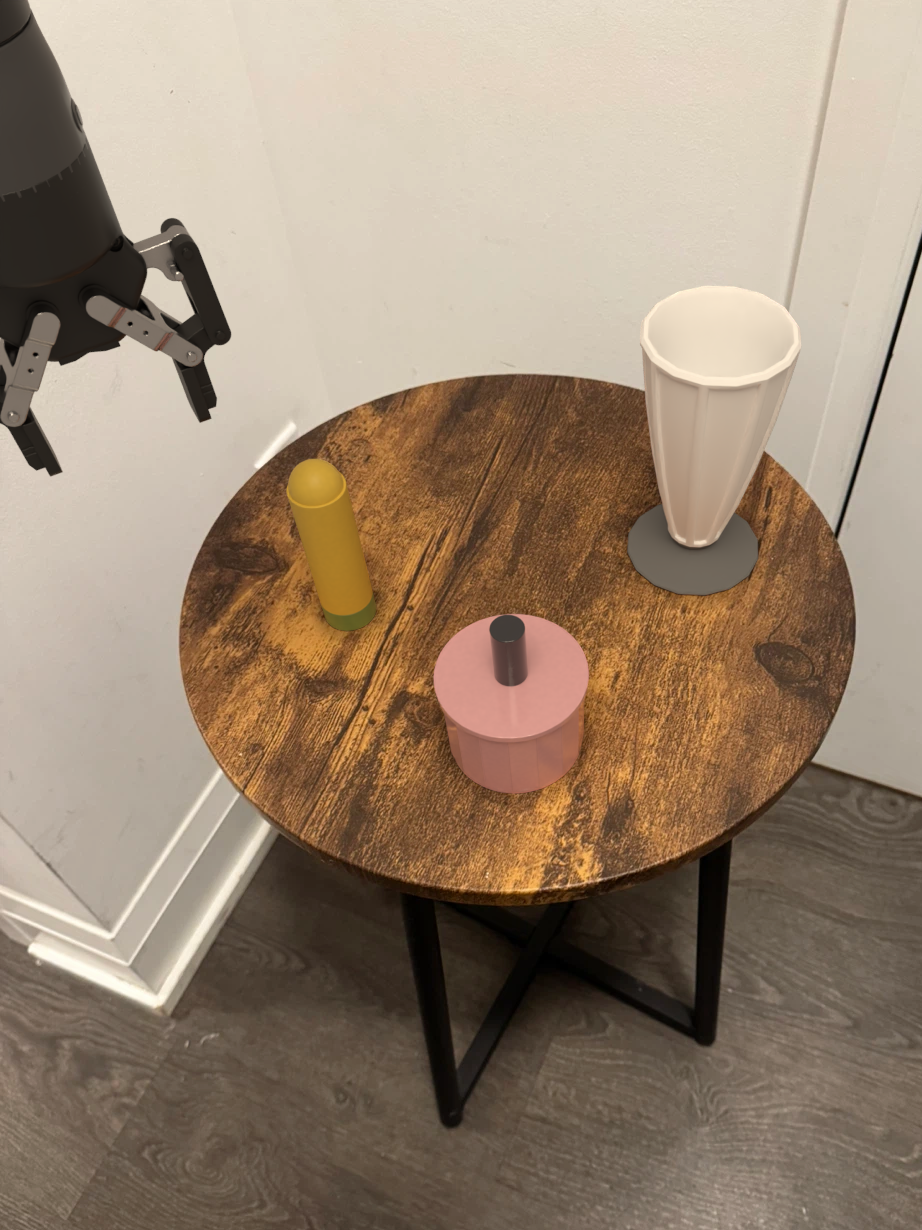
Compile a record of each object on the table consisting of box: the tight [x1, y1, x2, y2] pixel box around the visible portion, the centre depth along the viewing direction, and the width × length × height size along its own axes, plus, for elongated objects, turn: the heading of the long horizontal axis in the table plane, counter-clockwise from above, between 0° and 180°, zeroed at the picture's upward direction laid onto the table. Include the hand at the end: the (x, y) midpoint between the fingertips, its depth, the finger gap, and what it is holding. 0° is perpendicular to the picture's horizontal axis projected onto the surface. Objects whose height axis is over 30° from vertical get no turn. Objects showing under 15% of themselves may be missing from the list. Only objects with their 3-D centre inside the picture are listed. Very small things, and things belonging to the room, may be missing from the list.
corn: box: [285, 458, 377, 632], centre depth 81 cm, size 4×4×16 cm
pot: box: [443, 700, 585, 794], centre depth 77 cm, size 10×10×8 cm
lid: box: [433, 613, 590, 743], centre depth 72 cm, size 11×11×6 cm
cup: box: [626, 285, 802, 596], centre depth 82 cm, size 12×12×22 cm
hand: (128, 439), depth 58 cm, fingers open, 8 cm apart
